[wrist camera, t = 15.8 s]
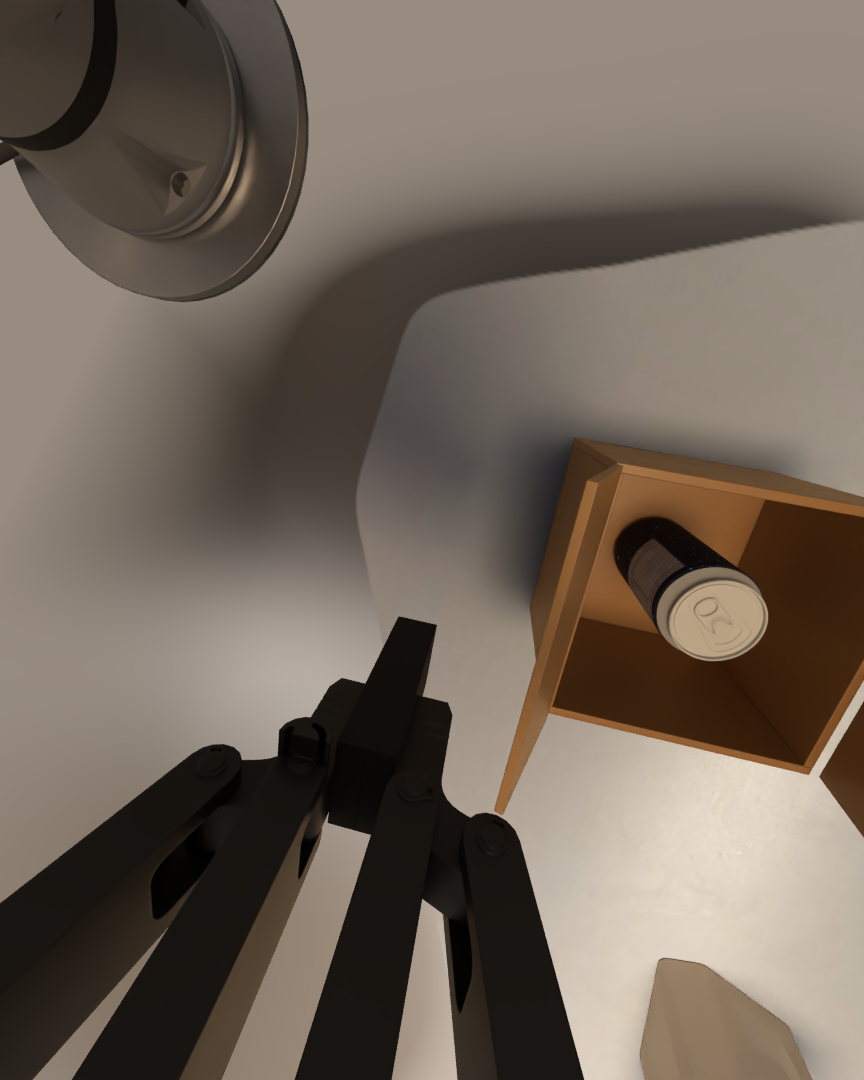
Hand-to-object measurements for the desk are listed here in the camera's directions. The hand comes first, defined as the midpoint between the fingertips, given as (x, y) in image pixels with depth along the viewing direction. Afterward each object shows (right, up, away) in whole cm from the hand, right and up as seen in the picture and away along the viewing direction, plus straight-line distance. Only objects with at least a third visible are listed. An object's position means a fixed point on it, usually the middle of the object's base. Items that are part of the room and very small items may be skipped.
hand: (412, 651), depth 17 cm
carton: (+18, +4, +19) cm, 26 cm away
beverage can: (+18, +4, +18) cm, 26 cm away
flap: (+7, 0, +3) cm, 7 cm away
